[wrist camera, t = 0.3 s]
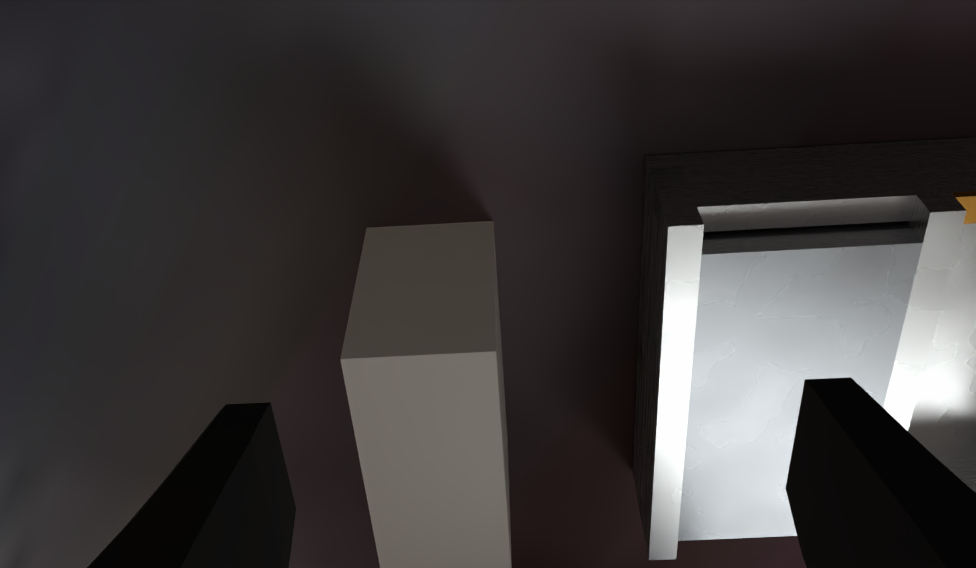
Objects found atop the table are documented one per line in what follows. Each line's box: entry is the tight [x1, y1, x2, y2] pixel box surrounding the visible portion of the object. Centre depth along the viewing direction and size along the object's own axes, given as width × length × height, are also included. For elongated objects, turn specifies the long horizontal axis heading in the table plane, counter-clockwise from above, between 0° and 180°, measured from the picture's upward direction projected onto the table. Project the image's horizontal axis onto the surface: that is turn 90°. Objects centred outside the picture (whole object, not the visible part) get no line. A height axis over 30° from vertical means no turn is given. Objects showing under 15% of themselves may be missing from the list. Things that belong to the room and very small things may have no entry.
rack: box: [633, 137, 976, 560], centre depth 22 cm, size 10×14×3 cm
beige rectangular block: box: [340, 221, 512, 568], centre depth 22 cm, size 7×3×5 cm, turn 3°
